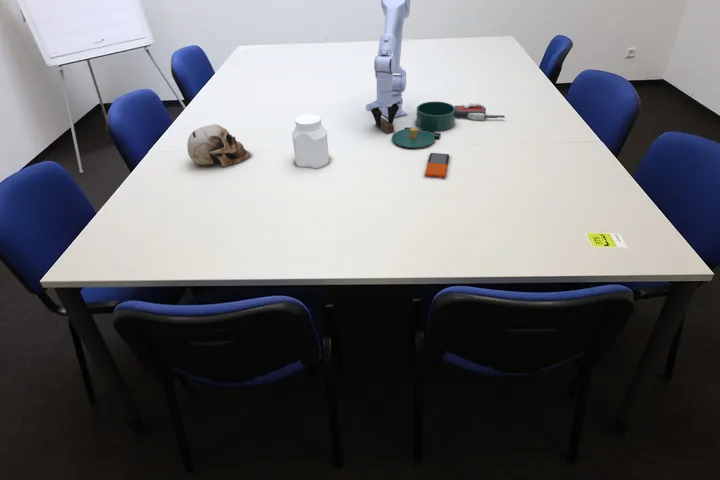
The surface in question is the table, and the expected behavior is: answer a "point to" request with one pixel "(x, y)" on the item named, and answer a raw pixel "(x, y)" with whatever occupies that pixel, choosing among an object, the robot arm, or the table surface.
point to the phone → (437, 165)
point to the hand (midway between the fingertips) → (384, 125)
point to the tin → (435, 116)
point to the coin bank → (215, 147)
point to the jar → (310, 142)
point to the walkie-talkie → (473, 112)
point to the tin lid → (413, 138)
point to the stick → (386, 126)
